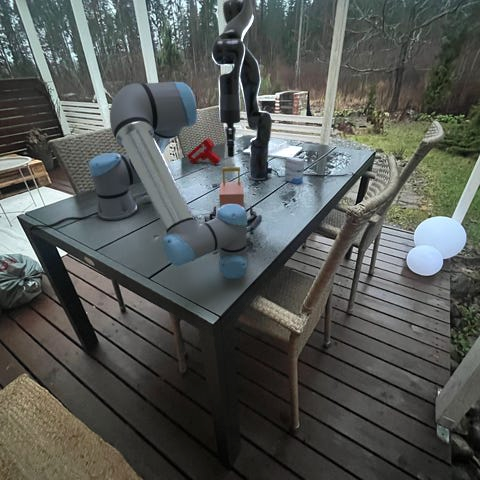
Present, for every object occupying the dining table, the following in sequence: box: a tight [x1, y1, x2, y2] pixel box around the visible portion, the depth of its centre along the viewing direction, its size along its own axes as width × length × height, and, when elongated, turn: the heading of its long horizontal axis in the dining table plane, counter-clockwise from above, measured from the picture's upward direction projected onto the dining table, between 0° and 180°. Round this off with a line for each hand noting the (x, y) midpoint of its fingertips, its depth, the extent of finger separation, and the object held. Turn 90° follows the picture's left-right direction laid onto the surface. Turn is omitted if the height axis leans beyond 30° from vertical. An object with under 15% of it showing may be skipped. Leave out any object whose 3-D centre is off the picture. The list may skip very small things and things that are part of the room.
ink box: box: [284, 156, 306, 185], centre depth 140 cm, size 8×5×12 cm, turn 47°
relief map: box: [242, 138, 304, 160], centre depth 192 cm, size 27×35×5 cm
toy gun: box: [186, 137, 221, 166], centre depth 168 cm, size 18×4×15 cm
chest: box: [219, 196, 245, 209], centre depth 113 cm, size 13×10×9 cm
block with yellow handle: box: [218, 166, 245, 198], centre depth 108 cm, size 13×10×8 cm
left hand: (233, 209), depth 103 cm, fingers open, 13 cm apart
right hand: (230, 153), depth 106 cm, fingers open, 8 cm apart
